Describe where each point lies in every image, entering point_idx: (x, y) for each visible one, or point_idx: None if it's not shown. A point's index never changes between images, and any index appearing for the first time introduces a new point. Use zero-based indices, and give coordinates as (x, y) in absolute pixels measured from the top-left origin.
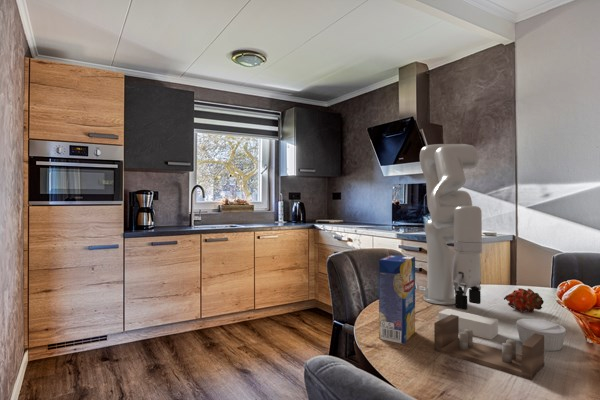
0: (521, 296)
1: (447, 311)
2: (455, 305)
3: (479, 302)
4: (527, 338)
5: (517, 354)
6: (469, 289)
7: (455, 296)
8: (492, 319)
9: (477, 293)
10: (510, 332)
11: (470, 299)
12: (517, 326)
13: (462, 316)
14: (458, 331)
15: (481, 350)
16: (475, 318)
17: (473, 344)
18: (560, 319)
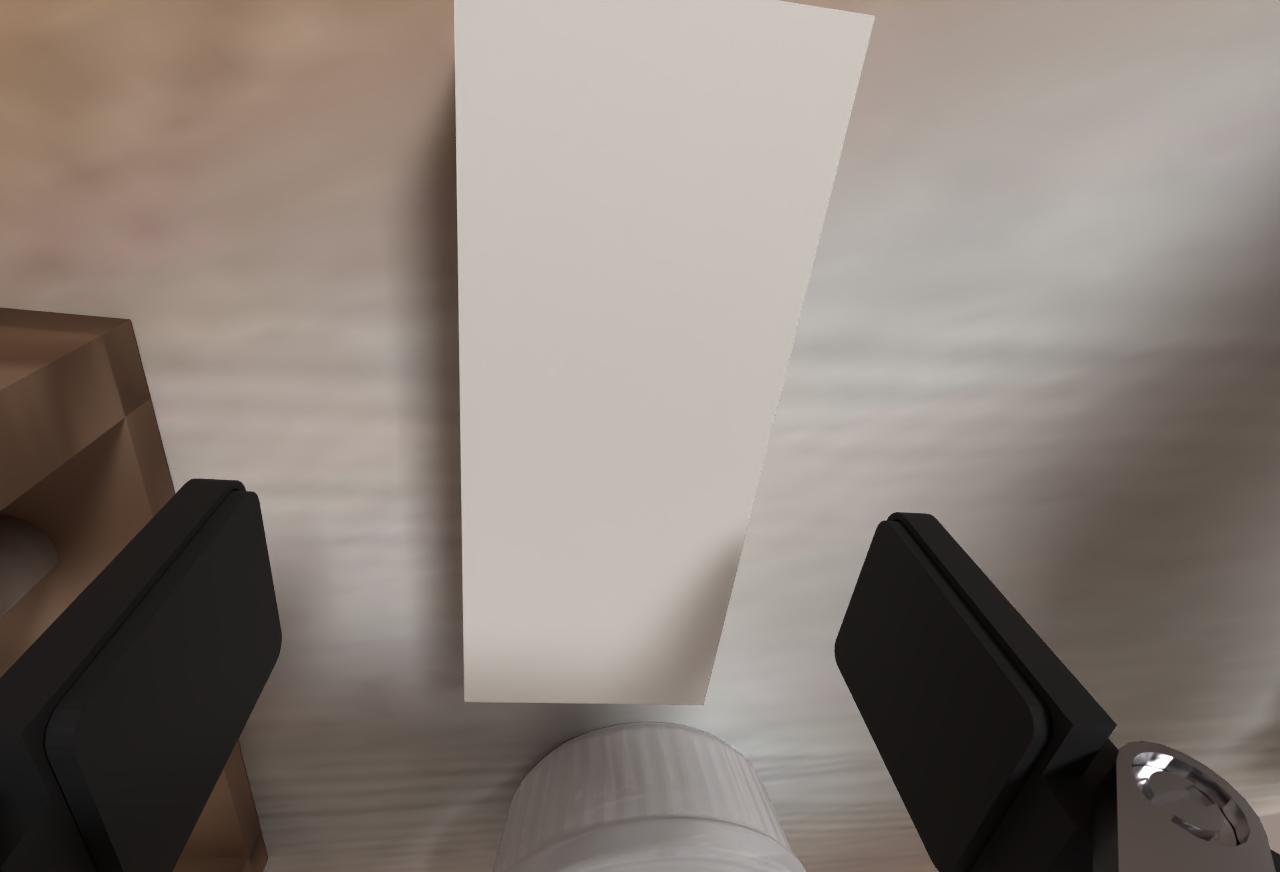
0: None
1: (669, 98)
2: (168, 501)
3: (847, 671)
4: (509, 829)
5: (219, 799)
6: (1058, 733)
7: (15, 668)
8: (671, 671)
9: (924, 805)
10: (786, 643)
11: (902, 568)
12: (568, 842)
13: (540, 401)
14: (71, 456)
15: (26, 645)
16: (574, 547)
17: (96, 569)
18: (1276, 782)
